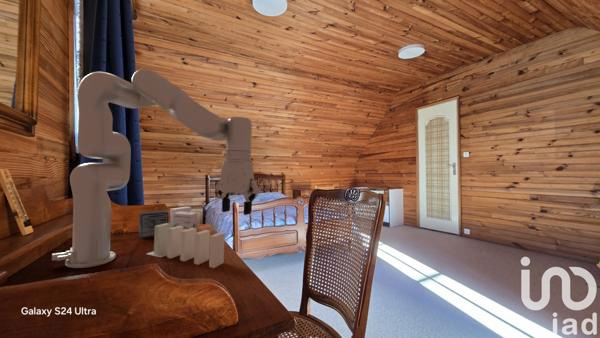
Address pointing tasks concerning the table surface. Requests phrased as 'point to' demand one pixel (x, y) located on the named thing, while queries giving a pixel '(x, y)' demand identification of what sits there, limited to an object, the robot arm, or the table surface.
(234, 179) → the robot arm
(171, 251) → the tile
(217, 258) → the tile
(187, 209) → the base with upright slab
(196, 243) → the tile
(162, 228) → the tile
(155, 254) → the end pad
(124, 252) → the table surface
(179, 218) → the ink box
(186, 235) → the tile
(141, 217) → the small box
